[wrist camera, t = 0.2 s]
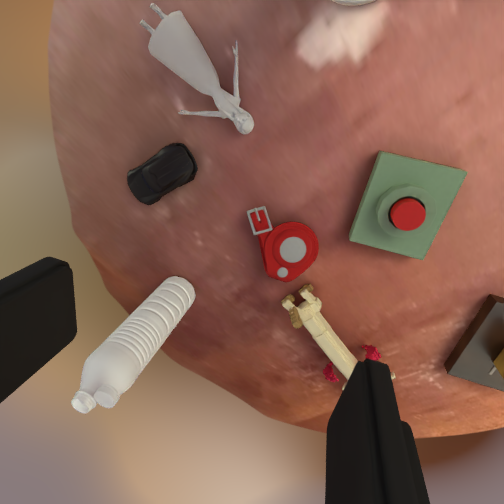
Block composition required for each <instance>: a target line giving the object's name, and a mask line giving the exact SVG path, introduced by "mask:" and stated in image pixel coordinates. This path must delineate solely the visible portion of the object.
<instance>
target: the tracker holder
mask: <svg viewBox="0 0 504 504" xmlns="http://www.w3.org/2000/svg"><path fill="white" fill-rule="evenodd" d="M263 210H264V211H263ZM247 215H248V218H249V221H250V225H251V228H252V231H253V234H254V235H257V234H258V239H259V244H260V248H261V253H262V258H263V264H264V268H265V271H266V273H267V275H268V276H269V277H271V278H274V279H277V280H280V281H283V282H290V281H292V280H294V279H295V278H296V277H298V276H299V275H300V274H301V273H303V272H304V271H305V270H306V269H307V268H308V267H310V265H311V264H312V263H313V262H314V261H315V259H316V257H317V254H318V240H317V237H316V235H315V234H314V232H313V231H312V230H311V229H310V228H309V227H307V226H306V225H304V224H302V223H299V222H286V223H283V224H280V225H278V226H277V227H275V228H274V227H273V225H272V224H271V222H270V220H269V217H268V214H267V211H266V208H265V206H263V207H259V208H254V209H252V210H249V211H247ZM250 215H251V217H250ZM251 218H252V220H251ZM252 221H253V223H252ZM253 224H254V226H253ZM254 227H255V229H254ZM255 230H256V232H255Z"/></svg>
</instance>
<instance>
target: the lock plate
mask: <svg viewBox="0 0 504 504" xmlns="http://www.w3.org/2000/svg"><path fill="white" fill-rule="evenodd" d="M503 349H504V298H502V297H499V296H495V295H491V294H490V295H489V297H488V298H487V300H486V301H485V303H484V304H483V306H482V307H481V309H480V310H479V312H478V313H477V315H476V316H475V318H474V320H473V321H472V323H471V324H470V326H469V327H468V329H467V330H466V332H465V333H464V335H463V336H462V338H461V339H460V341H459V342H458V344H457V345H456V347H455V348H454V350H453V351H452V353H451V354H450V356H449V357H448V359H447V360H446V362H445V364H444V367H445V369H446V371H447V374H449V375H453V376H456V377H459V378H462V379H465V380H469V381H472V382H475V383H478V384H481V385H485V386H488V387H491V388H494V389H497V390H500V391H504V379H503V377H502V376H501V374H500V373H499V371H498V370H497V368H496V367H495V365H494V363H493V362H494V361H495V359H496V358H497V357H498V355H499V354H500V353H501V351H502V350H503Z"/></svg>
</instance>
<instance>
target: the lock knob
mask: <svg viewBox="0 0 504 504" xmlns="http://www.w3.org/2000/svg"><path fill="white" fill-rule="evenodd" d="M493 363H494V365H495V367H496V368H497V370H498V371H499V373H500V374H501V376H502V377H503V379H504V349H503V350H502V351H501V353H500V354H499V355H498V357H497V358H496V359H495V361H494V362H493Z"/></svg>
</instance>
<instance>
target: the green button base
mask: <svg viewBox="0 0 504 504" xmlns="http://www.w3.org/2000/svg"><path fill="white" fill-rule="evenodd" d="M467 173H468V172H466V171H464V170H462V169H459V168H454V167H450V166H445V165H441V164H437V163H432V162H428V161H424V160H419V159H415V158H410V157H406V156H402V155H397V154H393V153H389V152H384V151H379V153H378V156H377V159H376V162H375V164H374V167H373V170H372V173H371V175H370V178H369V181H368V183H367V186H366V189H365V192H364V194H363V197H362V200H361V202H360V205H359V208H358V211H357V213H356V216H355V219H354V222H353V224H352V227H351V230H350V232H349V240H350V241H353V242H357V243H361V244H364V245H368V246H372V247H375V248H379V249H383V250H387V251H390V252H394V253H398V254H401V255H405V256H409V257H413V258H416V259H420V260H423V259H424V257H425V255H426V253H427V251H428V250H429V248H430V246H431V244H432V242H433V240H434V238H435V236H436V234H437V232H438V230H439V228H440V226H441V224H442V222H443V220H444V218H445V216H446V214H447V212H448V210H449V208H450V206H451V204H452V202H453V200H454V198H455V196H456V194H457V192H458V190H459V189H460V187H461V185H462V183H463V181H464V179H465V177H466V175H467ZM405 198H411V199H414V200H416V201H418V202H419V203H420V204H421V205H422V206H423V207H424V209H425V212H426V217H425V220H424V222H423V223H422V225H421V226H419V227H418V228H416V229H414V230H410V231H404V230H401V229H399V228H397V227H396V226H395V225H394V223H393V221H392V219H391V216H390V212H391V208H392V207H393V205H394V204H395V203H396V202H398V201H399V200H401V199H405Z"/></svg>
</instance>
